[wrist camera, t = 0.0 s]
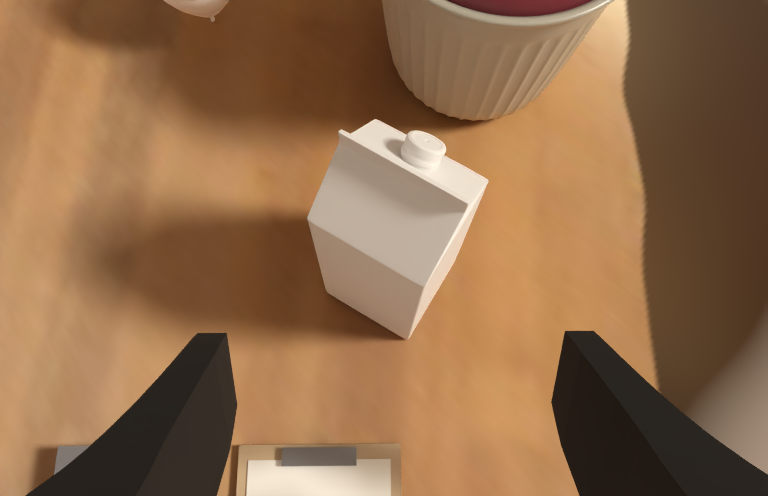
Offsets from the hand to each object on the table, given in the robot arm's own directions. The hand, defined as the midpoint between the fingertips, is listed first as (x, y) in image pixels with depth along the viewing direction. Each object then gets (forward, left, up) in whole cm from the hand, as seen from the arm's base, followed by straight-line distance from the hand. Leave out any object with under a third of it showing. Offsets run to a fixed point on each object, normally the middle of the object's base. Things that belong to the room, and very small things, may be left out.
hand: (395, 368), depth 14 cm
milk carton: (+11, -1, -32) cm, 34 cm away
